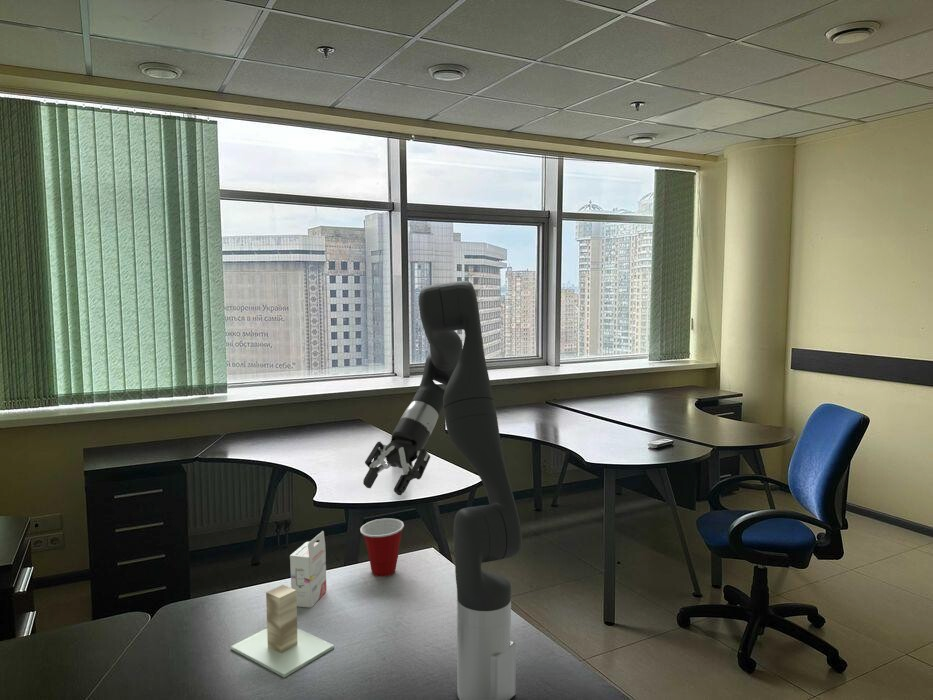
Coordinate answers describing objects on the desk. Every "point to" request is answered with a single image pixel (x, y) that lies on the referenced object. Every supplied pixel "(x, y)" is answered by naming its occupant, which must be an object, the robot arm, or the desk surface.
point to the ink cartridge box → (309, 571)
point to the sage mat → (287, 660)
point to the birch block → (281, 618)
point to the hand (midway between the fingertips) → (381, 489)
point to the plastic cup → (383, 544)
